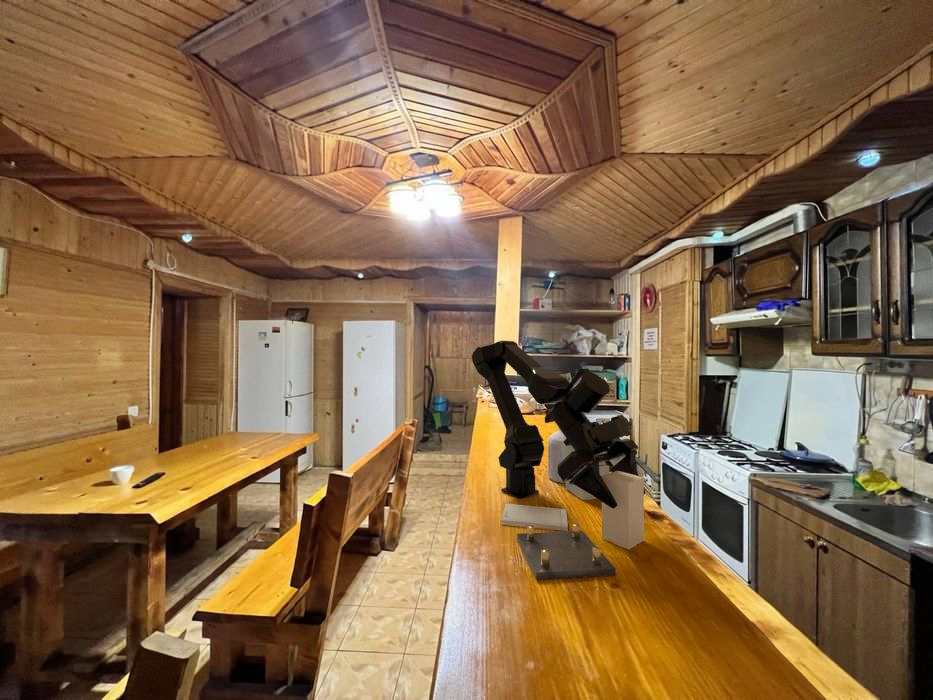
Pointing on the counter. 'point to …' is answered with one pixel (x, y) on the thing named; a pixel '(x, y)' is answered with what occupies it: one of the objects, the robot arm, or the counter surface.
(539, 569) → the chassis plate
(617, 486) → the cream block
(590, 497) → the supplement box
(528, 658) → the counter surface
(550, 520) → the hard drive
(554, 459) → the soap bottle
